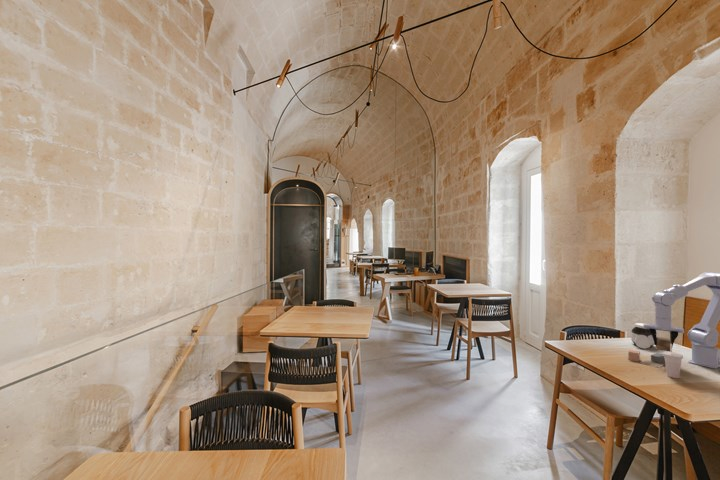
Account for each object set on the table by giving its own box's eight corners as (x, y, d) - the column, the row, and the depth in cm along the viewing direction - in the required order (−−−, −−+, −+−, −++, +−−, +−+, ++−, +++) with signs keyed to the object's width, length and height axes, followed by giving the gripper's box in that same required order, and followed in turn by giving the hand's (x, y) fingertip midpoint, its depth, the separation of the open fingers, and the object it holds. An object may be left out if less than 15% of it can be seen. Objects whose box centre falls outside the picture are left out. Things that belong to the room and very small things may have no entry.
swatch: (663, 364, 161) (663, 364, 161) (657, 367, 158) (657, 366, 158) (646, 360, 167) (646, 359, 167) (639, 363, 163) (639, 362, 163)
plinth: (675, 364, 162) (675, 357, 162) (669, 367, 159) (669, 359, 159) (657, 359, 169) (657, 352, 169) (651, 362, 165) (651, 355, 165)
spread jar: (647, 343, 194) (647, 323, 194) (663, 350, 182) (663, 328, 182) (625, 343, 195) (625, 322, 195) (639, 349, 184) (639, 327, 184)
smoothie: (662, 372, 152) (662, 341, 152) (682, 375, 148) (682, 343, 148) (663, 376, 147) (663, 344, 147) (683, 380, 143) (683, 347, 143)
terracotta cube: (639, 359, 168) (639, 351, 168) (638, 361, 165) (638, 353, 165) (629, 357, 171) (629, 349, 171) (628, 359, 168) (628, 351, 168)
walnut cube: (669, 348, 164) (669, 338, 164) (671, 351, 160) (671, 341, 160) (655, 346, 167) (655, 336, 167) (657, 349, 163) (657, 339, 163)
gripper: (682, 318, 163) (682, 346, 163) (642, 314, 171) (643, 341, 171) (685, 320, 157) (685, 350, 157) (644, 316, 166) (644, 344, 166)
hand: (663, 345), depth 164 cm, fingers closed on walnut cube, 5 cm apart
